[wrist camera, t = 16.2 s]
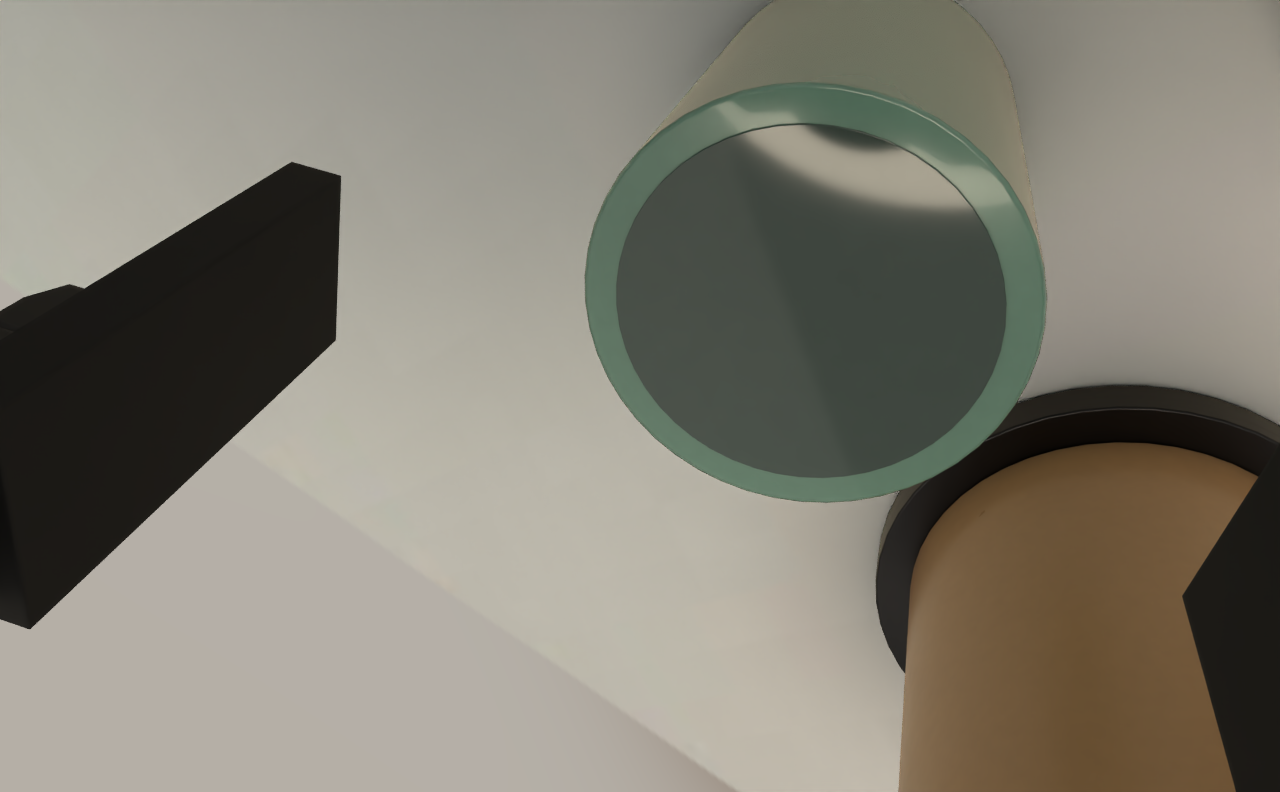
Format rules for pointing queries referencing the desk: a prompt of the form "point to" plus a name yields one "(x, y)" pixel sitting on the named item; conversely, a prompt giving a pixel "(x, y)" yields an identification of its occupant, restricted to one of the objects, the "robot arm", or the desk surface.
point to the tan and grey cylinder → (1066, 595)
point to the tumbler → (826, 254)
